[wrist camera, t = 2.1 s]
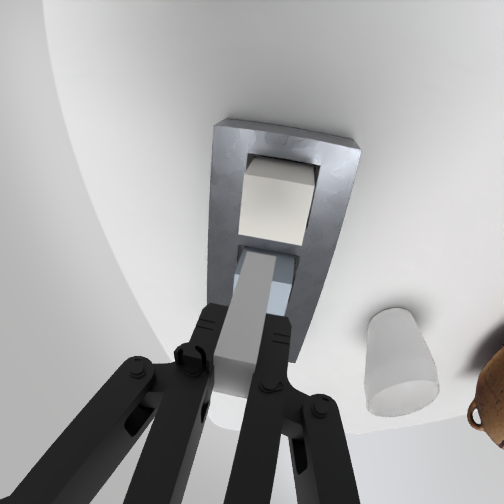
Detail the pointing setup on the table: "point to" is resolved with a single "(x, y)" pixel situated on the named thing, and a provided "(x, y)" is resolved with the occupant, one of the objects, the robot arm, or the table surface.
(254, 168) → the ivory key
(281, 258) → the slate key
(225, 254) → the panel
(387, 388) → the cup
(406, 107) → the table surface
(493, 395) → the vase
